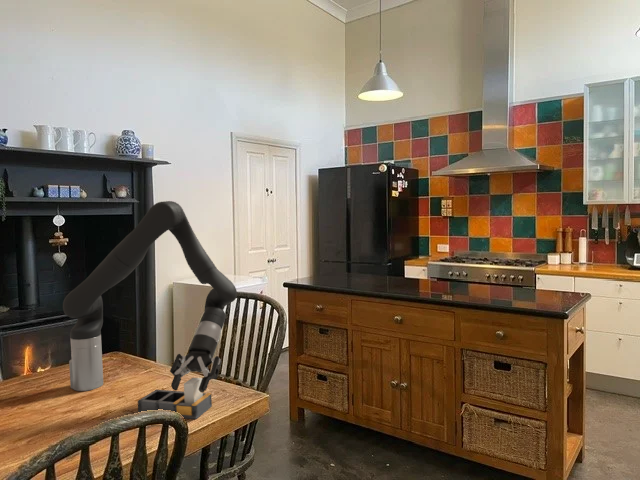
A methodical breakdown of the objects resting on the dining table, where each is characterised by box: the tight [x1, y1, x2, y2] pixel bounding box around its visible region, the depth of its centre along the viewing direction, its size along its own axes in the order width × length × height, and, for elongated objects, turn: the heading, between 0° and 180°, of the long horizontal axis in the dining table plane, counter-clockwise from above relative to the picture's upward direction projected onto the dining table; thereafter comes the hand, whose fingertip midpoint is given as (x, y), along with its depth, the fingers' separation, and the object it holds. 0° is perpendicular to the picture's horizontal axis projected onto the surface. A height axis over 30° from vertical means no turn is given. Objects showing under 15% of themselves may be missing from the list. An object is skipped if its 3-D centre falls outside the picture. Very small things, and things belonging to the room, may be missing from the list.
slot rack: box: [137, 389, 213, 420], centre depth 136 cm, size 19×9×4 cm, turn 75°
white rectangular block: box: [183, 377, 203, 404], centre depth 135 cm, size 3×5×8 cm, turn 166°
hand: (187, 390), depth 132 cm, fingers open, 8 cm apart
